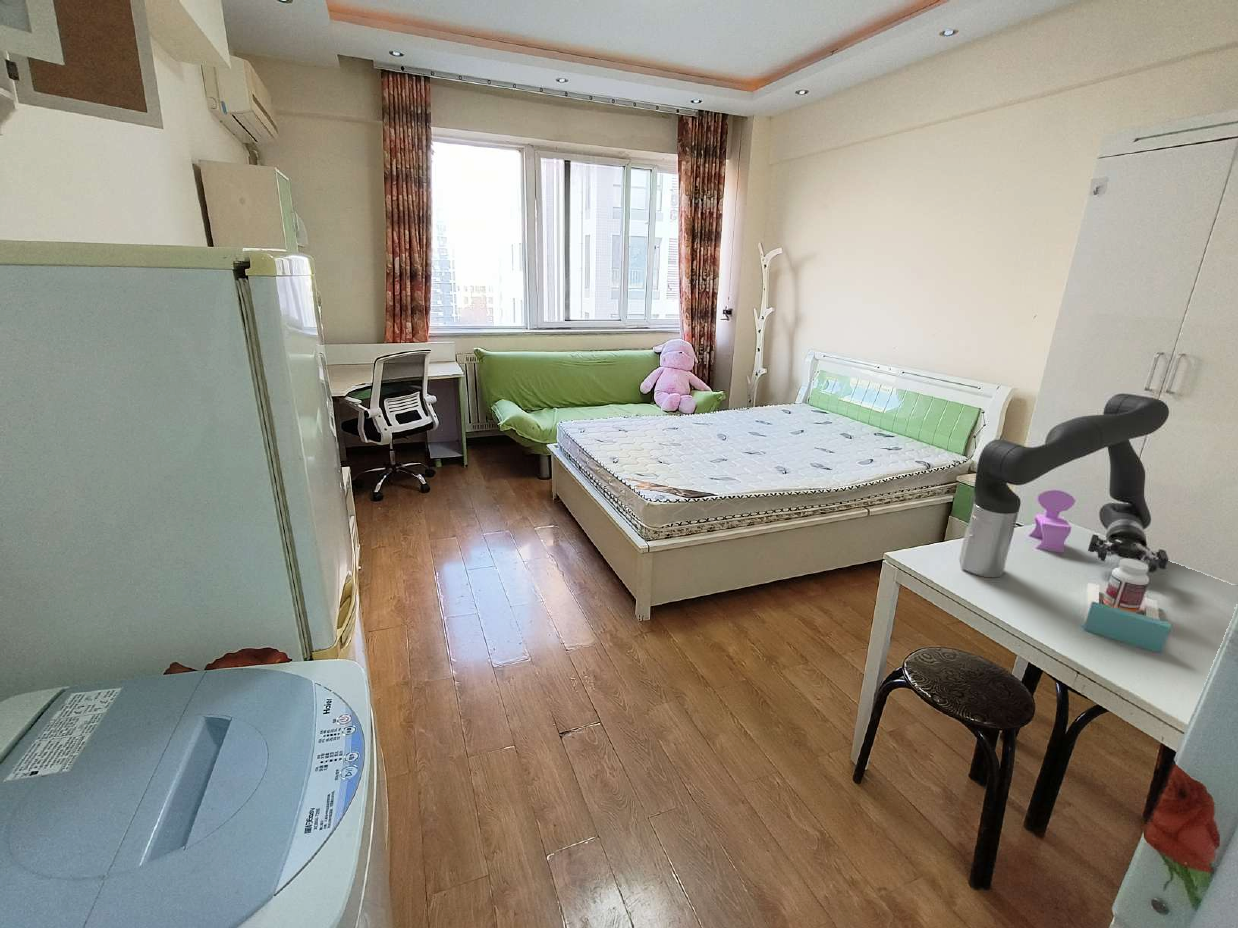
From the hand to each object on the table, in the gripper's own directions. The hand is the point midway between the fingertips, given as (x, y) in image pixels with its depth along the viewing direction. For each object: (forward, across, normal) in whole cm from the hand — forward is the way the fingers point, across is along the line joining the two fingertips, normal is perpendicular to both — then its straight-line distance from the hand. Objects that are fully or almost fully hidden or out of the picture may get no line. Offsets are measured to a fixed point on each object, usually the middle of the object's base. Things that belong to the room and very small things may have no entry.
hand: (1127, 562), depth 132 cm
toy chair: (-16, -15, +7) cm, 23 cm away
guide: (+15, 0, +6) cm, 16 cm away
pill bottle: (+10, 0, +7) cm, 12 cm away
